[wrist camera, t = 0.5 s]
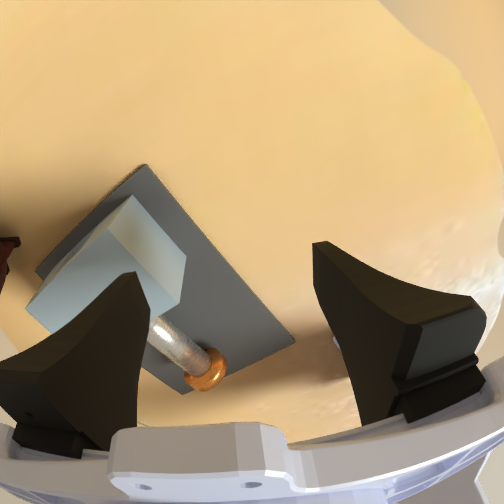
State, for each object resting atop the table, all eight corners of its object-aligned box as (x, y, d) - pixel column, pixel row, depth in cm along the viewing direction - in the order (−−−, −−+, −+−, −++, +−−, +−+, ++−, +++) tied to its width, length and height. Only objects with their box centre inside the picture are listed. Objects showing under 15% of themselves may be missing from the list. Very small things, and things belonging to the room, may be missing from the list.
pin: (226, 346, 27) (228, 381, 23) (192, 363, 27) (190, 397, 24) (138, 261, 21) (125, 294, 18) (104, 286, 22) (89, 320, 19)
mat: (294, 339, 28) (295, 342, 28) (182, 392, 31) (182, 394, 31) (146, 163, 19) (144, 165, 19) (36, 268, 22) (34, 271, 21)
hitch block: (187, 253, 22) (179, 303, 17) (103, 312, 24) (84, 361, 19) (133, 192, 20) (107, 228, 15) (55, 265, 22) (25, 308, 17)
